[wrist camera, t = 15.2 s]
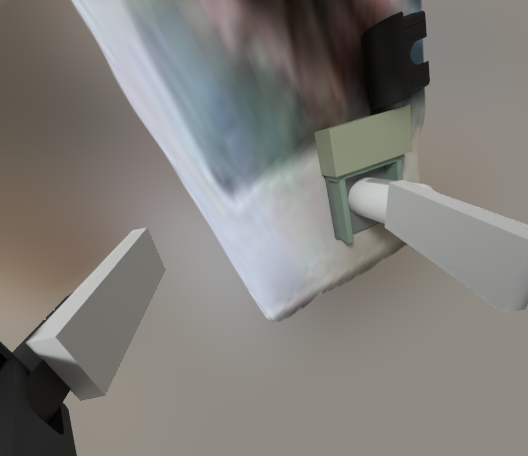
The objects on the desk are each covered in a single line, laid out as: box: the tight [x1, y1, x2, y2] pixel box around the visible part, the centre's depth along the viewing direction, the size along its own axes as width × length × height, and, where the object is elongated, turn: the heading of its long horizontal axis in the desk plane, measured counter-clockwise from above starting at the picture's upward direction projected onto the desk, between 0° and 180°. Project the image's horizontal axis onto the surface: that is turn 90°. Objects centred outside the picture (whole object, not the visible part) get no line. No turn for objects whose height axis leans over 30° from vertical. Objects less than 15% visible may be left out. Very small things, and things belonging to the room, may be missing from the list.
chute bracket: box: [314, 105, 412, 244], centre depth 39 cm, size 20×14×4 cm
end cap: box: [360, 11, 430, 110], centre depth 33 cm, size 10×7×7 cm
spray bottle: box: [348, 177, 481, 224], centre depth 33 cm, size 7×7×18 cm
